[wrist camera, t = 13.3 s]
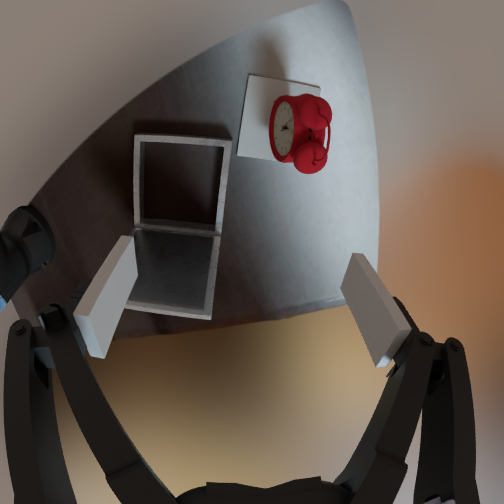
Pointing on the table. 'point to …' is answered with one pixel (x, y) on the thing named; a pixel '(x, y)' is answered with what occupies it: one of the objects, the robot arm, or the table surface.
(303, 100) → the alarm clock
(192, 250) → the lid
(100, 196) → the table surface
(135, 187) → the case
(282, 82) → the mat
